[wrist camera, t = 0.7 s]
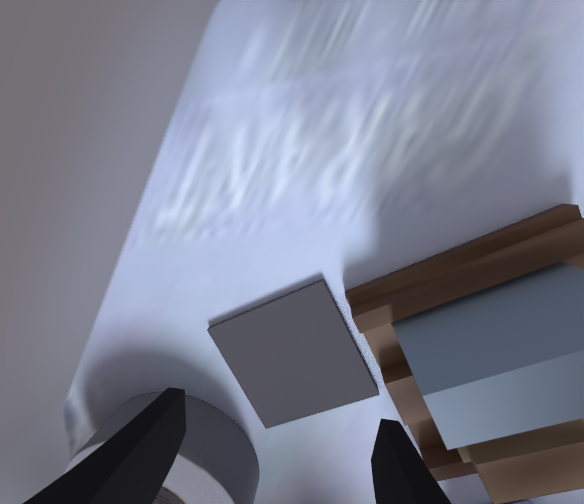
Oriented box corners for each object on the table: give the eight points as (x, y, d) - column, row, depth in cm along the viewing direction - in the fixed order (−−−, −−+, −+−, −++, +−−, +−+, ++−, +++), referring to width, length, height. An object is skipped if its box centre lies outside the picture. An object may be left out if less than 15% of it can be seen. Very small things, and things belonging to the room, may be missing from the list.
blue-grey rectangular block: (566, 301, 16) (729, 383, 10) (405, 354, 19) (447, 450, 12) (551, 258, 16) (713, 312, 9) (388, 318, 18) (422, 396, 11)
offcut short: (574, 438, 16) (615, 482, 14) (471, 461, 18) (493, 504, 15) (559, 399, 16) (600, 437, 13) (455, 425, 17) (476, 465, 15)
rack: (626, 403, 18) (670, 435, 16) (422, 451, 22) (434, 485, 19) (563, 203, 16) (604, 207, 14) (344, 291, 19) (346, 307, 17)
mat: (378, 390, 21) (379, 394, 20) (266, 424, 23) (265, 428, 23) (323, 278, 19) (323, 280, 19) (209, 327, 22) (206, 329, 21)
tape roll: (174, 359, 23) (132, 406, 18) (294, 477, 24) (285, 550, 20) (81, 440, 27) (26, 496, 22) (188, 537, 28) (158, 610, 24)
